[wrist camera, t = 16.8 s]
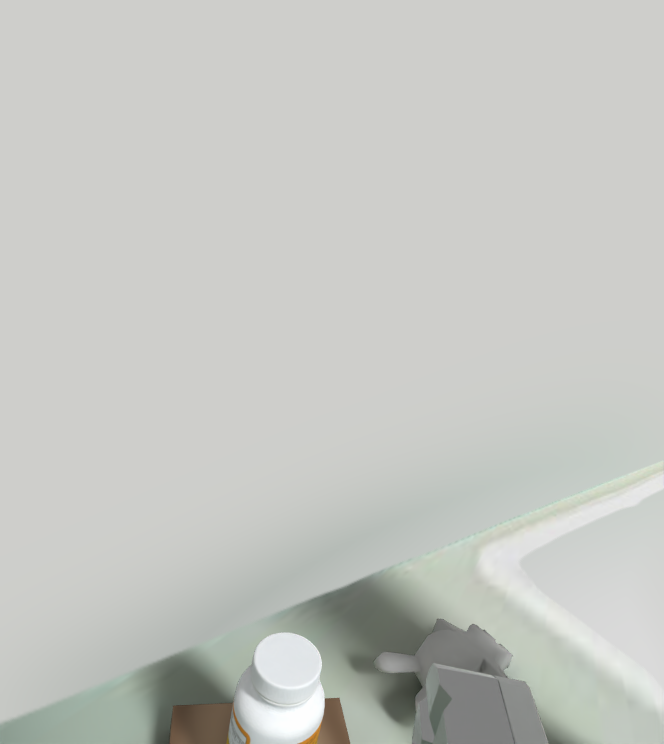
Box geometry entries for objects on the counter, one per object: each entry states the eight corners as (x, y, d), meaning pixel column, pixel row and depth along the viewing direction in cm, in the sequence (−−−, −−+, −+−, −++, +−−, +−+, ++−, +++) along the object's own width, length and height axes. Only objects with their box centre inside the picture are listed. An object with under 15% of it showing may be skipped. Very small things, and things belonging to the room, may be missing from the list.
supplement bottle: (319, 762, 40) (347, 645, 37) (283, 847, 34) (313, 717, 31) (247, 725, 42) (268, 609, 39) (202, 800, 36) (222, 671, 33)
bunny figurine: (541, 662, 52) (445, 709, 43) (524, 704, 53) (426, 758, 44) (469, 600, 59) (373, 628, 50) (454, 638, 60) (358, 672, 51)
